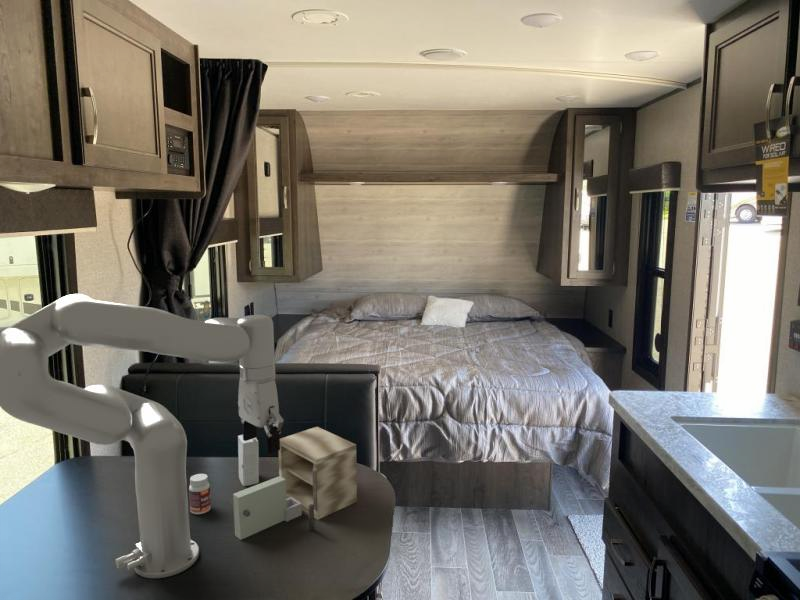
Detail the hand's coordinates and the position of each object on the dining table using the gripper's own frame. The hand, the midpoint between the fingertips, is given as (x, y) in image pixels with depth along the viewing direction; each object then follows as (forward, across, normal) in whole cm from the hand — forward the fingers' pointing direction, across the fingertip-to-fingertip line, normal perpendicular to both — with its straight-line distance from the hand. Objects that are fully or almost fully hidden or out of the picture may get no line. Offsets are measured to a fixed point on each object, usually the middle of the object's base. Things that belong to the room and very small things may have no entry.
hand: (261, 445), depth 128 cm
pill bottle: (+20, -17, -7) cm, 27 cm away
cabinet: (+20, 0, +14) cm, 24 cm away
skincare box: (+20, -22, +9) cm, 31 cm away
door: (+20, 0, +1) cm, 20 cm away
